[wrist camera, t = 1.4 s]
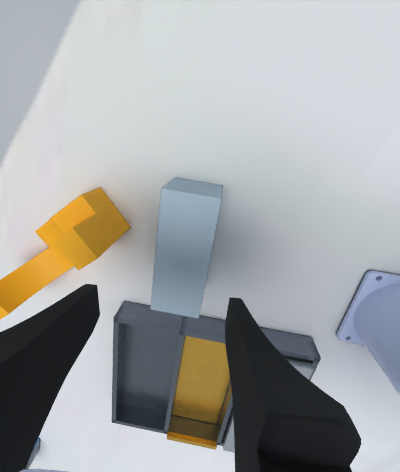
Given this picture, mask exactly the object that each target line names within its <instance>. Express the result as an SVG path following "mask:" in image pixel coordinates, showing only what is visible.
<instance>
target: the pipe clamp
mask: <svg viewBox="0 0 400 472" xmlns="http://www.w3.org/2000/svg"><path fill="white" fill-rule="evenodd" d="M130 227H131V226H130V225H129V224H128V223H127V221H126V220H125V219H124V217H123V216H122V215H121V213H120V212H119V211H118V210H117V208H116V207H115V206H114V204H113V203H112V202H111V200H110V199H109V198H108V196H107V195H106V194H105V193H104V191H103V190H102V189H101V187H100V188H98V189H95V190H92V191H90V192H87V193H85V194H82V195H81V196H79V197H78V198H77V199H75V200H74V201H73V202H71V203H70V204H69V205H67V206H66V207H65V208H63V209H62V210H61V211H59V212H58V213H57V214H55V215H54V216H53V217H51V218H50V220H49V221H48V222H47V223H45V224H44V225H43V226H42V227H40V228H39V229H38V230H36V231H35V232H36V233H37V234H38V236H39V237H40V238H41V239H42V240H43V241H44V242H45V243H46V244H47V245H48V247H49V248H48V249H46V250H45V251H43V252H42V253H40V254H39V255H37V256H36V257H34V258H33V259H31V260H30V261H28V262H27V263H25V264H24V265H22V266H21V267H19V268H18V269H16V270H15V271H13V272H12V273H10V274H9V275H7V276H6V277H4V278H2V279H1V280H0V319H2V318H3V317H5V316H6V315H8V314H9V313H11V312H12V311H13V310H14V309H16V308H17V307H18V306H19V305H21V304H22V303H23V302H25V301H26V300H27V299H28V298H30V297H31V296H32V295H34V294H35V293H36V292H38V291H39V290H41V289H42V288H43V287H45V286H46V285H47V284H49V283H50V282H52V281H53V280H54V279H56V278H57V277H59V276H60V275H62V274H63V273H64V272H66V271H67V270H69V269H70V268H72V267H74V266H75V267H76V268H77V269H78V270H80V269H81V268H83V267H84V266H86V265H88V264H89V263H91V262H92V261H94V260H95V259H97V258H98V257H99V256H101V255H102V254H103V253H104V252H105V251H106V250H107V249H108V248H109V247H110V246H111V245H112V244H113V243H114V242H115V241H117V240H118V239H119V238H120V237H121V236H122V235H123V234H124V233H125V232H126V231H127V230H128V229H129V228H130Z"/></svg>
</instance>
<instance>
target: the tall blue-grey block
mask: <svg viewBox="0 0 400 472" xmlns="http://www.w3.org/2000/svg"><path fill="white" fill-rule="evenodd" d="M222 186H223V185H217V184H211V183H205V182H199V181H194V180H188V179H182V178H174V179H173V180H172V181H170V182H169V183H168V184H166V185H165V186H164V187H163V188H161V198H160V209H159V220H158V231H157V243H156V254H155V265H154V276H153V287H152V298H151V309H152V310H157V311H162V312H167V313H173V314H178V315H183V316H188V317H193V318H198V319H199V314H200V309H201V304H202V298H203V293H204V288H205V283H206V277H207V272H208V267H209V262H210V256H211V251H212V246H213V241H214V235H215V230H216V225H217V220H218V214H219V209H220V204H221V198H222Z"/></svg>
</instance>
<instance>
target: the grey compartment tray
mask: <svg viewBox="0 0 400 472" xmlns="http://www.w3.org/2000/svg"><path fill="white" fill-rule="evenodd" d="M225 322H226V320H220V319H215V318H210V317H205V316H200V315H199V319H198V318H193V317H188V316H183V315H178V314H173V313H167V312H162V311H157V310H152V309H151V306H148V305H143V304H138V303H133V302H127V301H124V302H123V304H122V305H121V307H120V308H119V310H118V312H117V313H116V315H115V316H114V331H113V385H112V422H113V423H117V424H122V425H127V426H131V427H136V428H141V429H146V430H150V431H155V432H160V433H165V434H167V439H168V440H173V441H178V442H183V443H187V444H192V445H197V446H201V447H206V448H211V449H216V447H217V445H221V446H223V450H225V451H230V452H235V446H234V421H233V401H232V389H231V381H230V374H229V367H228V360H227V353H226V346H225ZM260 329H261V330H262V331H263V333H264V334H265V335H266V337H267V338H268V339H269V341H270V342H271V343H272V344H273V345H274V347H275V348H276V349H277V350H278V351H279V352H280V353H281V354H282V355H283V356H284V358H285V359H286V360H287V361H288V362H290V363H291V364H292V365H293V366H294V367H295V368H296V369H297V370H298V371H299V372H300V373H301V374H302V375H304V376H305V377H306V378H307V379H308V380H311V378H312V376H313V374H314V371H315V369H316V367H317V365H318V363H319V361H320V359H321V357H320V355H319V353H318V350H317V348H316V346H315V343H314V341H313V339H312V337H308V336H303V335H298V334H293V333H288V332H282V331H277V330H272V329H267V328H262V327H260Z"/></svg>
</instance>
